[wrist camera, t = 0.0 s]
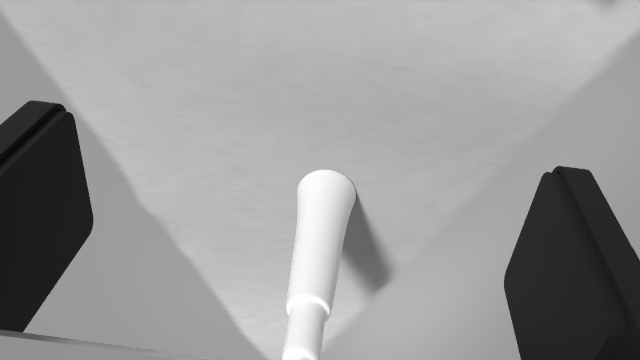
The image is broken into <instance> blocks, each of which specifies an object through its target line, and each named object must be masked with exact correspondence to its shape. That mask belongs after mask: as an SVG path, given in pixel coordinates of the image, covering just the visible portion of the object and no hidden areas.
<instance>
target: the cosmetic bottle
mask: <svg viewBox="0 0 640 360" xmlns="http://www.w3.org/2000/svg"><path fill="white" fill-rule="evenodd" d="M297 197H298V218H297V229H296V237H295V244H294V251H293V258H292V265H291V272H290V279H289V287H288V295H287V303H286V311H287V314H288V316H289V322H288V327H287V332H286V338H285V343H284V348H283V353H282V360H320V355H321V346H322V338H323V330H324V322H326V321H327V320H328V319H329V317H330V314H331V310H332V305H333V299H334V294H335V289H336V283H337V277H338V271H339V265H340V259H341V253H342V248H343V242H344V237H345V232H346V228H347V224H348V220H349V217H350V213H351V211H352V208H353V205H354V203H355V199H356V192H355V188H354V186H353V184H352V183H351V181H350V180H349V179H348V178H347V177H345V176H344V175H342V174H341V173H338V172H336V171H332V170H318V171H314V172H312V173H309V174H308V175H306V176H305V177H304V178H303V179H302V180H301V182H300V183H299V186H298V190H297Z"/></svg>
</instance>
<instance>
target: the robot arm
mask: <svg viewBox="0 0 640 360" xmlns="http://www.w3.org/2000/svg"><path fill="white" fill-rule="evenodd" d="M92 227H93V213H92V208H91V203H90V198H89V192H88V187H87V182H86V177H85V172H84V166H83V161H82V156H81V151H80V145H79V140H78V135H77V129H76V124H75V120H74V116H73V115H72V114H71V113H70V112H66V109H65V108H64V106H63V105H61V104H57V103H49V102H41V101H29V102H27V103H26V104H25V105H23V106H22V107H21V108H20V109H19V110H17V111H16V112H15V113H14V114H13V115H12V116H10V117H9V118H8V119H7V120H6V121H4V122H3V123H2V124H1V125H0V360H220V359H213V358H206V357H199V356H192V355H184V354H177V353H170V352H163V351H156V350H149V349H141V348H134V347H126V346H119V345H111V344H104V343H96V342H89V341H81V340H73V339H67V338H59V337H52V336H44V335H37V334H29V333H23V331H24V330H25V328H26V327H27V325H28V324H29V322H30V321H31V319H32V318H33V316H34V315H35V314H36V312H37V311H38V309H39V308H40V306H41V305H42V303H43V302H44V301H45V299H46V297H47V296H48V295H49V293H50V292H51V290H52V289H53V287H54V286H55V284H56V283H57V281H58V280H59V279H60V277H61V276H62V274H63V273H64V271H65V270H66V268H67V267H68V265H69V264H70V263H71V261H72V260H73V258H74V257H75V255H76V254H77V252H78V251H79V250H80V248H81V247H82V245H83V244H84V242H85V241H86V239H87V238H88V236H89V235H90V233H91V230H92ZM504 289H505V294H506V298H507V302H508V306H509V311H510V315H511V319H512V323H513V327H514V331H515V336H516V340H517V344H518V349H519V353H520V357H521V360H640V260H639V258H638V257H637V255H636V253H635V251H634V249H633V248H632V246H631V245H630V243H629V241H628V239H627V237H626V235H625V234H624V232H623V230H622V228H621V226H620V224H619V223H618V221H617V219H616V217H615V215H614V213H613V212H612V210H611V208H610V206H609V204H608V203H607V201H606V199H605V197H604V195H603V194H602V191H601V190H600V188H599V186H598V184H597V182H596V180H595V179H594V177H593V175H592V173H591V172H590V171H589V170H586V169H578V168H570V167H562V166H558V167H556V168H555V169H554V170H553V172H552V173H551V172H546V173H544V174H543V176H542V178H541V181H540V183H539V186H538V188H537V191H536V194H535V196H534V199H533V201H532V204H531V207H530V209H529V212H528V215H527V217H526V220H525V223H524V225H523V228H522V230H521V233H520V236H519V238H518V241H517V243H516V246H515V249H514V252H513V254H512V257H511V259H510V262H509V265H508V267H507V270H506V274H505V278H504Z"/></svg>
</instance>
